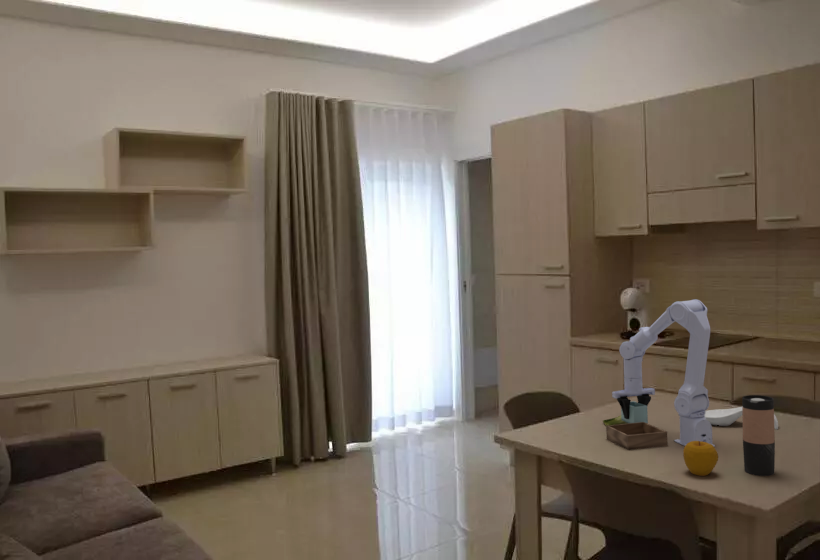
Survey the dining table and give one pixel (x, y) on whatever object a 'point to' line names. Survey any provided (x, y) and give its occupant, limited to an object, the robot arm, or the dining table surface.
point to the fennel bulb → (614, 421)
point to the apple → (700, 457)
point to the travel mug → (758, 435)
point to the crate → (636, 435)
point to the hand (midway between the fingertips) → (634, 417)
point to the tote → (636, 413)
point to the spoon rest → (728, 416)
